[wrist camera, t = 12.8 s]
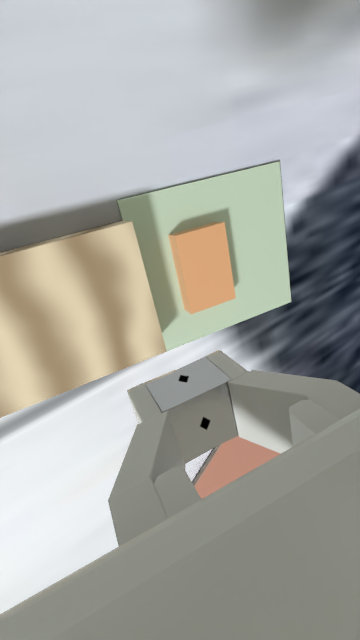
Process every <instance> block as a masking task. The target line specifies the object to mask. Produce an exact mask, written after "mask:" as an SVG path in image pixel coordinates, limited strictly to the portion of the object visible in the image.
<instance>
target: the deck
mask: <svg viewBox="0 0 360 640" xmlns="http://www.w3.org/2000/svg"><path fill="white" fill-rule="evenodd" d="M164 352H166V347H165V343H164V339H163V336H162V332H161V328H160V324H159V320H158V317H157V313H156V309H155V305H154V302H153V298H152V294H151V290H150V286H149V283H148V279H147V275H146V271H145V268H144V264H143V260H142V256H141V253H140V249H139V245H138V241H137V237H136V234H135V230H134V226H133V222H132V221H119V222H115V223H111V224H108V225H104V226H100V227H96V228H92V229H88V230H85V231H81V232H77V233H73V234H69V235H65V236H62V237H58V238H54V239H50V240H46V241H42V242H39V243H35V244H31V245H27V246H23V247H19V248H16V249H12V250H8V251H4V252H0V418H1V417H3V416H6V415H8V414H11V413H13V412H16V411H18V410H21V409H23V408H26V407H28V406H31V405H33V404H36V403H38V402H41V401H43V400H46V399H48V398H51V397H53V396H56V395H58V394H61V393H63V392H66V391H69V390H71V389H74V388H76V387H79V386H81V385H84V384H86V383H89V382H91V381H94V380H96V379H99V378H101V377H104V376H106V375H109V374H111V373H114V372H116V371H119V370H121V369H124V368H126V367H129V366H131V365H134V364H136V363H139V362H141V361H144V360H146V359H149V358H151V357H154V356H156V355H159V354H161V353H164Z"/></svg>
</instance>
